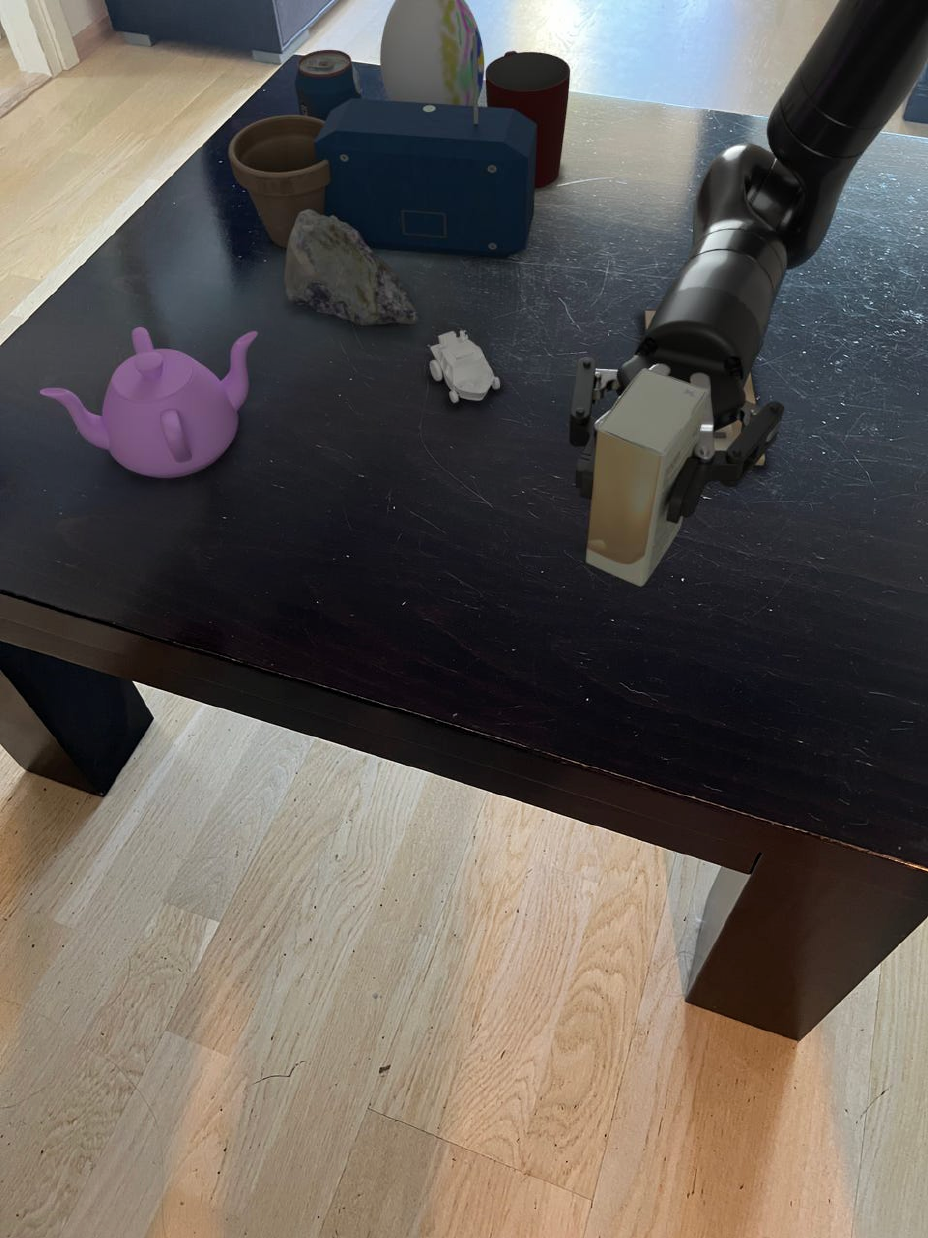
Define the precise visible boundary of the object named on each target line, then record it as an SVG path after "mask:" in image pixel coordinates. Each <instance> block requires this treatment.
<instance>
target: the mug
mask: <svg viewBox="0 0 928 1238" xmlns="http://www.w3.org/2000/svg"><path fill="white" fill-rule="evenodd" d="M484 78H485V93H486V94H485V96H486V107H496V108H511V109H515V110H517V111H518V112H520V113H521V114H522V115H524V116H525V117H527V118H528V119H530V120H531V121H533V122H534V123H536V124H537V140H536V167H535V190H536V189H541V188H543V187H546V186H548V185H550V184H552V183H554V182H555V181H556V180H557V178H558V177H559V174H560V168H561V160H562V153H563V147H564V146H563V145H564V139H565V138H564V137H565V129H566V123H567V121H566V120H567V113H568V105H569V96H570V95H569V94H570V83H571V68H570V66H569V64H568V63H567V62H566V60H564V59H562V58H561V57H558V56H557V55H553V54H550V53H546V52H540V51H539V52H538V51H537V52H536V51H522V52H517V51H516V50H511V51H510V50H509V51H506V52H505V53H504V55H502V56H500V57H498V58H496V59H494V60H493V61H491V62H490V63H489V64H488V65H487V66H486V68H485V70H484Z"/></svg>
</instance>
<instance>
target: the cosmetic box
mask: <svg viewBox="0 0 928 1238" xmlns="http://www.w3.org/2000/svg"><path fill="white" fill-rule="evenodd" d="M707 396H708V390H706V389H704V388H701V387H697V386H695V385H693V384H690V383H687V382H684V381H681V380H678V379H676V378H673V377H670V376H667V375H664V374H661V373H658V372H655V371H651V370H649V369H646V368H644V369H642V370H641V371H640V372H639V373H638V374H637V376H636V377H635V378H634V379H633V380H632V382H631V383H630V384H629V385H628V387H627V388H626V389H625V391H624V392H623V393H622V395H621V396H620V397H619V399H618V400H617V399H616V400H617V401H616V400H615V402H616V403H615V402H614V404H613V406H612V407H611V408H610V411H609V410H608V411H609V412H608V411H607V412H608V414H607V416H606V417H605V418H604V420H603V421H602V423H601V424H600V426H599V427H598V431H597V443H596V454H595V465H594V476H593V488H592V499H591V500H590V509H589V522H588V534H587V543H586V553H585V562H586V564H589V565H591V566H593V567H595V568H597V569H599V570H602V571H603V572H606V573H608V574H610V575H612V576H614V577H617V578H619V579H621V580H624V581H626V582H628V583H631V584H633V585H636V586H637V587H643V586H645V584H646V583H647V582H648V580H649V578H650V577H651V575H652V574H653V573H654V571H655V569H656V568H657V566H658V565H659V564H660V563H661V560H662V559H663V557H664V555H666V553H667V551H668V549H669V548H670V546H671V544H672V543H673V541H674V539H675V538H676V536H677V534H678V532H679V530H681V527H682V522H683V518H684V517H683V516H681V517H680V520H679V522H678V524H676V523H672V522H668V521H666V517H667V512H668V506H669V501H670V498H671V495H672V492H673V490H674V488H675V485H676V483H677V480H678V478H679V476H680V473H681V471H682V469H683V466H684V464H685V462H686V459H687V458H688V457H691V458H692V455H693V450H694V446H695V444H696V443H697V441H698V439H699V435H700V430H701V425H702V421H703V416H704V411H705V406H706V401H707Z"/></svg>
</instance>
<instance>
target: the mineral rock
mask: <svg viewBox="0 0 928 1238" xmlns="http://www.w3.org/2000/svg"><path fill="white" fill-rule="evenodd" d="M285 257H286V258H285V269H284V276H283V279H284V284H285V287H286V288H285V295H286V298H287V300H288V302H290V303H291V304H292V305H294V306H298V305H300V306H305V305H306V306H309V307H310V308H311V309H314V310H316V312H317V313H322V314H327V315H333V316H336V317H337V318H340V319H342V320H348V321H350V322H352V323H354V324H355V325H357V326H363V327H364V326H365V327H366V326H374V325H386V324H395V323H398V324H404V325H414V324H417V323H418V322H419V315H418V312H417V310H416V308H415V306H414V302H413V299H412V298H411V297H410V296H409V295H408V293H407V290H406V288H405V287H404V284H403V282H402V281H401V280H400V278H399V277H398V275H397V274H396V272H395V271H394V270H393V269H392V268H391V267H390V266H389V265H388V264H387V263H386V262H384V261H383V260H382V259H380V258H379V257H377V256H376V255H374V254H373V251H372V248H369V246H367V245H366V243H365V242H364V241H363V239H362V237H361V235H360V233H359V232H358V231H357V230H355V229H354V228H352V227H351V226H350V225H348V224H347V223H344V222H341V221H339V220H338V218H337V217H335V216H333V215H332V216H330V217H327V216H324V215H320V214H319V213H317V212H315V211H313V210H310V209H308V210H305V211H302V212H299V215H298V217H297V219H296V221H295V225H294V227H293V229H292V232H291V235H290V238H289V242H288V247H287V248H286V256H285Z"/></svg>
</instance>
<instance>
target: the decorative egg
mask: <svg viewBox="0 0 928 1238" xmlns="http://www.w3.org/2000/svg"><path fill="white" fill-rule="evenodd" d="M473 36H477V73H478V100H480V99H479V98H480V96H481V93H482V90H483V85H484V80H485V79H484V78H485V54H484V45H483V40H482V36H481V33H480V30H479V27H478V24H477V21H476V19H475V17H474V14H473V12H472V10H471V9H470V7H469V5H468V3H467V2H466V0H394V2H393V3H392V5H391V7H390V9H389V11H388V14H387V17H386V20H385V23H384V25H383V30H382V35H381V40H380V53H379V63H380V75H381V80H382V81H381V82H382V85H383V90H384V92H385V94H386V98H387V101H402V102H417V103H433V104H449V105H464V106H474V102H473Z"/></svg>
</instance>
